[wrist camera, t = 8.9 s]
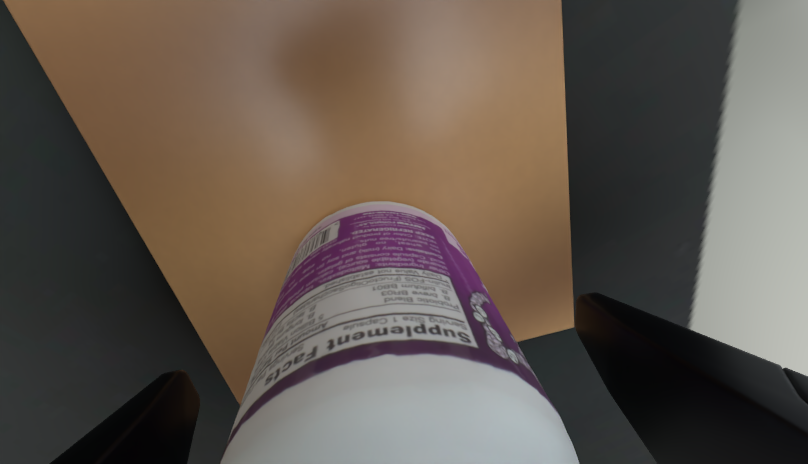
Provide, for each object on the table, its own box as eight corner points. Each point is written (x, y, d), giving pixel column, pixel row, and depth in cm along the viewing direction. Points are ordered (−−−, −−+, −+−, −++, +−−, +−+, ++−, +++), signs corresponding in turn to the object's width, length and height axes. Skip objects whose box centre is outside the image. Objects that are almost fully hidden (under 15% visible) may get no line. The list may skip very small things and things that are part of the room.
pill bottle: (472, 328, 13) (715, 893, 4) (317, 361, 13) (227, 1020, 4) (454, 175, 11) (910, 717, 2) (265, 213, 10) (-211, 1000, 2)
